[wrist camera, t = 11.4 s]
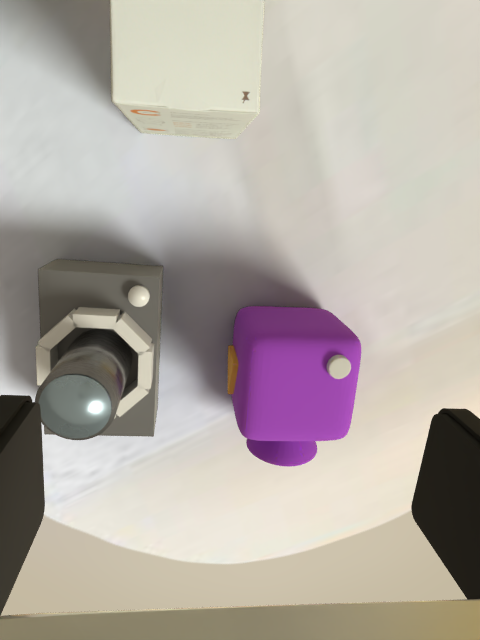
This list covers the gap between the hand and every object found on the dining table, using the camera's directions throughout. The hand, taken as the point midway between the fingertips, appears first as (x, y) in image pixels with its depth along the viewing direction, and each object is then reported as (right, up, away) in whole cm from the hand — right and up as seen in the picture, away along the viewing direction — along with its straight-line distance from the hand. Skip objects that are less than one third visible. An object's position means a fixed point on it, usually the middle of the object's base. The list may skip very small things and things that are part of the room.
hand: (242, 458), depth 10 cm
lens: (-11, 0, +25) cm, 28 cm away
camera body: (-12, +2, +30) cm, 32 cm away
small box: (-4, +21, +25) cm, 33 cm away
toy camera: (+4, -1, +33) cm, 33 cm away
